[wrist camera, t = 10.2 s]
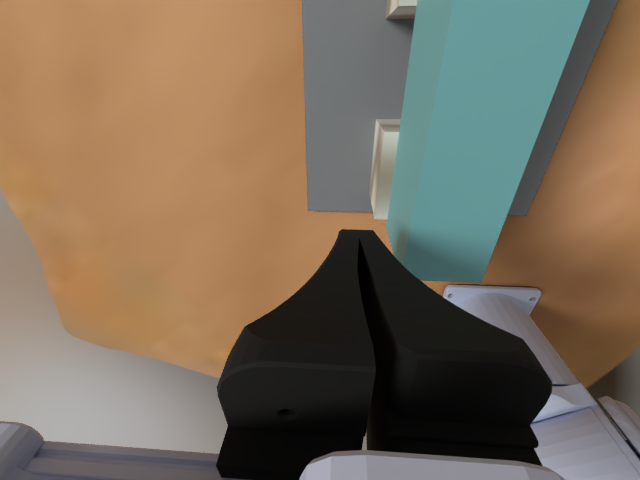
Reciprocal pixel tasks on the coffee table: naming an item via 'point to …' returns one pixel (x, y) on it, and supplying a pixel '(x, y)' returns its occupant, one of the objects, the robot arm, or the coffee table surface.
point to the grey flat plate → (396, 96)
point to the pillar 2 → (401, 9)
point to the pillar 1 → (383, 165)
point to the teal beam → (471, 125)
